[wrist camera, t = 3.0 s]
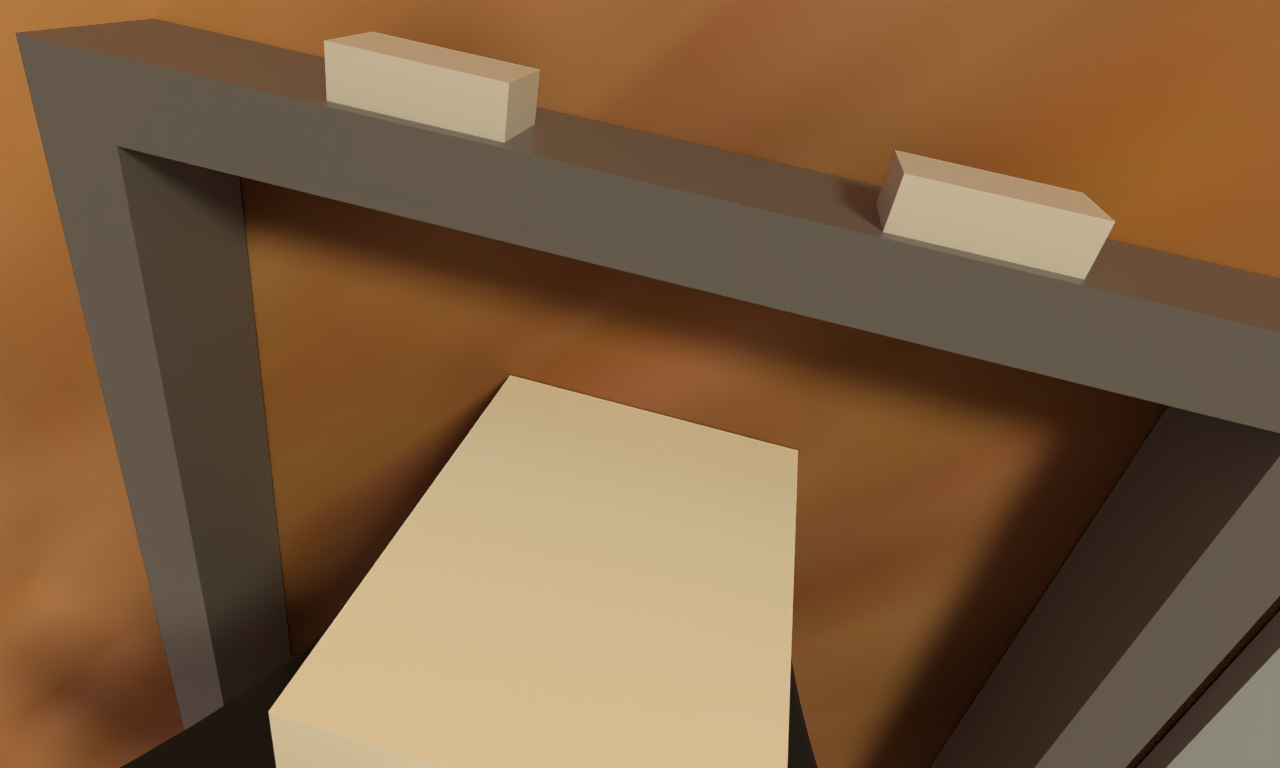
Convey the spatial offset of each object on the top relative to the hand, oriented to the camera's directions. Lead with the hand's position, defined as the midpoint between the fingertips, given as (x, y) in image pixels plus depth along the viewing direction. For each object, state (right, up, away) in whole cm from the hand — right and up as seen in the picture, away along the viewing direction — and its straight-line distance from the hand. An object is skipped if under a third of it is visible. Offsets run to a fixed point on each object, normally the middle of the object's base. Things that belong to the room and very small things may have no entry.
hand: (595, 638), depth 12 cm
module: (0, +1, +1) cm, 1 cm away
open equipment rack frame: (0, +1, +1) cm, 1 cm away
